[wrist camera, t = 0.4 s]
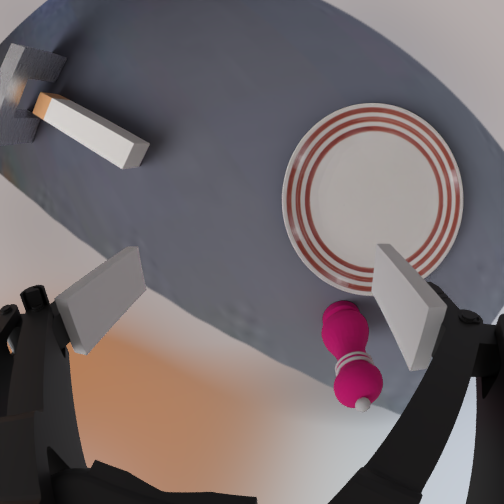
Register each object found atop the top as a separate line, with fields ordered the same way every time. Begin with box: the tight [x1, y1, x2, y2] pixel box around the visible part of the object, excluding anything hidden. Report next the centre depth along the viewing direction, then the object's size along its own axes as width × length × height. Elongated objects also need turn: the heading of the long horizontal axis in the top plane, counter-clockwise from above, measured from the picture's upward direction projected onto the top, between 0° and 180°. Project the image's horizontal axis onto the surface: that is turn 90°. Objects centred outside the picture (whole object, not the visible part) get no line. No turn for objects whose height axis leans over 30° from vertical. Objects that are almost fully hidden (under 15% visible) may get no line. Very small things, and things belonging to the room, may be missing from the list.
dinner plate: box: [282, 103, 463, 296], centre depth 37 cm, size 27×27×3 cm
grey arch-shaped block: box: [0, 43, 67, 146], centre depth 32 cm, size 6×18×12 cm, turn 148°
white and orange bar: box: [33, 92, 150, 169], centre depth 37 cm, size 24×4×5 cm, turn 58°
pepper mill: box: [322, 301, 383, 412], centre depth 35 cm, size 7×7×20 cm
